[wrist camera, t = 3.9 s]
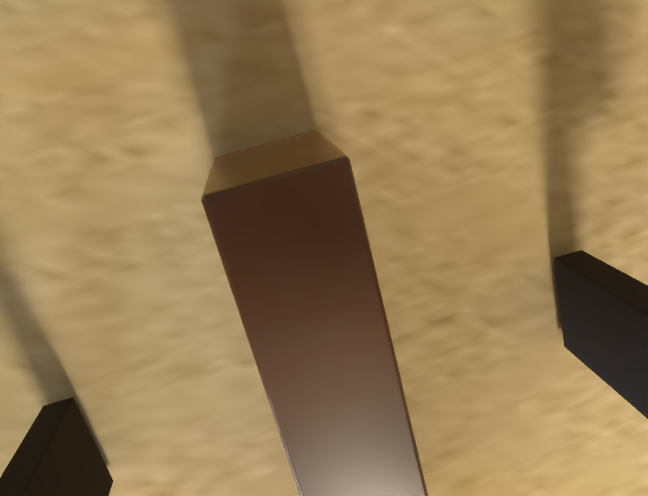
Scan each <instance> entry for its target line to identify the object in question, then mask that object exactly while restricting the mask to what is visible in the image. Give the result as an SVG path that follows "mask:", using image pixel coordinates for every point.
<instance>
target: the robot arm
mask: <svg viewBox="0 0 648 496" xmlns="http://www.w3.org/2000/svg"><path fill="white" fill-rule="evenodd" d="M554 259H555V268H556V277H557V286H558V294H559V303H560V312H561V321H562V330H563V339H564V347H566V348H567V349H568V350H569V351H570V352H571V353H573V354H574V355H575V356H576V357H577V358H578V359H579V360H581V361H582V362H583V363H584V364H585V365H586V366H588V367H589V368H590V369H591V370H592V371H593V372H594V373H596V374H597V375H598V376H599V377H600V378H601V379H602V380H604V381H605V382H606V383H607V384H608V385H609V386H611V387H612V388H613V389H614V390H615V391H616V392H617V393H619V394H620V395H621V396H622V397H623V398H624V399H626V400H627V401H628V402H629V403H630V404H631V405H632V406H634V407H635V408H636V409H637V410H638V411H639V412H641V413H642V414H643V415H644V416H645V417H646V418H647V419H648V286H647V285H645V284H644V283H642V282H640V281H638V280H636V279H634V278H632V277H630V276H629V275H627V274H625V273H623V272H621V271H619V270H617V269H616V268H614V267H612V266H610V265H608V264H606V263H604V262H603V261H601V260H599V259H597V258H595V257H593V256H591V255H589V254H588V253H586V252H584V251H582V250H580V251H577V252H573V253H570V254H566V255H563V256H560V257H556V258H554ZM112 483H113V480H112V477H111V475H110V473H109V471H108V469H107V467H106V465H105V463H104V461H103V459H102V456H101V454H100V452H99V450H98V448H97V446H96V444H95V442H94V440H93V438H92V435H91V433H90V431H89V429H88V427H87V425H86V423H85V421H84V419H83V417H82V414H81V412H80V410H79V408H78V406H77V404H76V402H75V400H74V398H73V397H72V398H69V399H66V400H62V401H59V402H55V403H52V404H48V405H45V406H43V408H42V409H41V411H40V413H39V414H38V416H37V418H36V419H35V421H34V423H33V424H32V426H31V428H30V429H29V431H28V433H27V434H26V436H25V438H24V439H23V441H22V443H21V444H20V446H19V448H18V449H17V451H16V453H15V454H14V456H13V458H12V459H11V461H10V463H9V464H8V466H7V468H6V469H5V471H4V473H3V474H2V476H1V478H0V496H108V495H109V492H110V489H111V486H112Z"/></svg>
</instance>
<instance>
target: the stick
mask: <svg viewBox="0 0 648 496" xmlns="http://www.w3.org/2000/svg"><path fill="white" fill-rule="evenodd" d="M202 204H203V207H204V210H205V213H206V216H207V219H208V222H209V225H210V227H211V230H212V233H213V236H214V239H215V242H216V245H217V248H218V251H219V254H220V257H221V260H222V263H223V266H224V269H225V272H226V275H227V278H228V281H229V284H230V287H231V290H232V293H233V296H234V299H235V302H236V305H237V308H238V311H239V314H240V317H241V320H242V323H243V326H244V329H245V332H246V335H247V338H248V341H249V344H250V347H251V350H252V353H253V356H254V359H255V362H256V365H257V368H258V371H259V374H260V377H261V380H262V382H263V385H264V388H265V391H266V394H267V397H268V400H269V403H270V406H271V409H272V412H273V415H274V418H275V421H276V424H277V427H278V430H279V433H280V436H281V439H282V442H283V445H284V448H285V451H286V454H287V457H288V460H289V463H290V466H291V469H292V472H293V475H294V478H295V481H296V484H297V487H298V490H299V493H300V496H428V493H427V489H426V485H425V481H424V476H423V472H422V468H421V463H420V459H419V455H418V450H417V446H416V442H415V438H414V433H413V429H412V425H411V420H410V416H409V412H408V408H407V403H406V399H405V395H404V390H403V386H402V382H401V378H400V373H399V369H398V365H397V360H396V356H395V352H394V347H393V343H392V339H391V335H390V330H389V326H388V322H387V317H386V313H385V309H384V305H383V300H382V296H381V292H380V287H379V283H378V279H377V275H376V270H375V266H374V262H373V257H372V253H371V249H370V244H369V240H368V236H367V232H366V227H365V223H364V219H363V214H362V210H361V206H360V202H359V197H358V193H357V189H356V184H355V180H354V176H353V172H352V167H351V163H350V159H349V158H348V157H347V156H346V155H345V154H344V153H343V152H341V151H340V150H339V149H338V148H337V147H336V146H334V145H333V144H332V143H331V142H330V141H329V140H327V139H326V138H325V137H324V136H323V135H322V134H320V133H319V132H318V131H312V132H309V133H305V134H301V135H298V136H294V137H290V138H287V139H283V140H279V141H276V142H272V143H268V144H265V145H261V146H257V147H254V148H250V149H246V150H243V151H239V152H235V153H232V154H228V155H224V156H220V157H217V158H215V159H214V161H213V164H212V167H211V170H210V173H209V176H208V179H207V182H206V186H205V189H204V192H203V195H202Z"/></svg>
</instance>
